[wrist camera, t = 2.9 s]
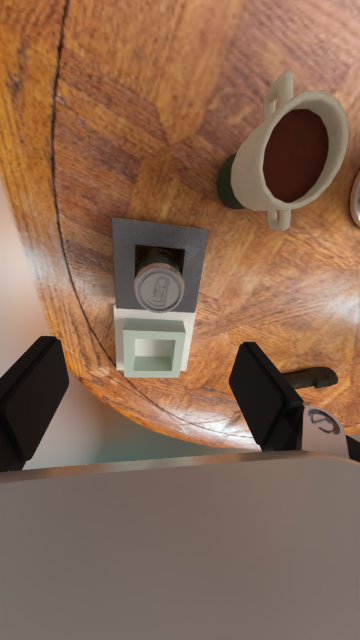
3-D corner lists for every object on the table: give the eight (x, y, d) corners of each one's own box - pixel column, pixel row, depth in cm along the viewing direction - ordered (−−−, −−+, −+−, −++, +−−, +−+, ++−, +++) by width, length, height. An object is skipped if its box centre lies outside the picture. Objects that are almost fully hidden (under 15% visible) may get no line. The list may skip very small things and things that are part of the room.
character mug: (265, 219, 28) (338, 220, 17) (219, 233, 28) (261, 243, 17) (261, 120, 23) (364, 26, 12) (205, 139, 23) (251, 64, 12)
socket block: (117, 217, 26) (111, 217, 23) (202, 228, 28) (208, 229, 24) (120, 298, 32) (115, 308, 28) (190, 303, 33) (194, 313, 30)
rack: (114, 303, 32) (107, 317, 28) (195, 308, 34) (200, 321, 30) (117, 366, 38) (112, 385, 34) (185, 367, 41) (188, 385, 36)
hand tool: (251, 388, 46) (260, 404, 42) (252, 376, 44) (261, 392, 40) (324, 374, 47) (340, 389, 43) (329, 362, 45) (346, 377, 41)
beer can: (146, 241, 28) (140, 256, 17) (180, 254, 29) (193, 275, 19) (137, 276, 30) (127, 307, 20) (169, 286, 32) (175, 320, 21)
